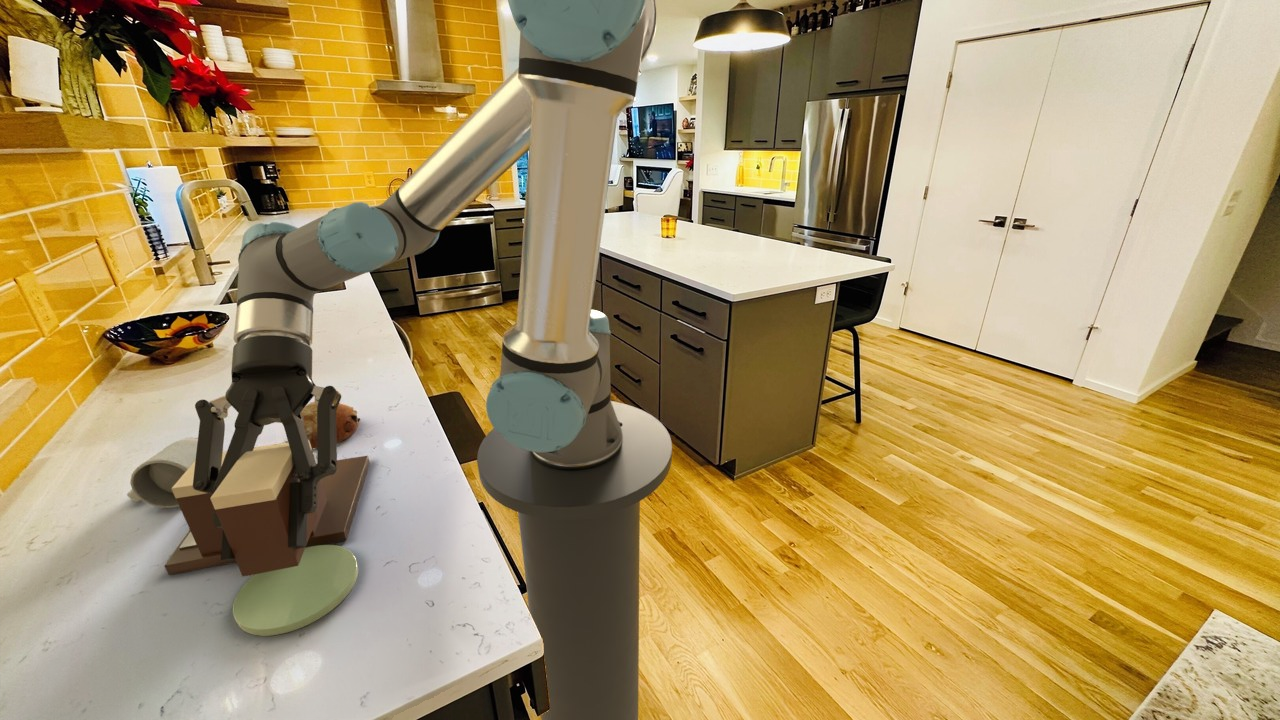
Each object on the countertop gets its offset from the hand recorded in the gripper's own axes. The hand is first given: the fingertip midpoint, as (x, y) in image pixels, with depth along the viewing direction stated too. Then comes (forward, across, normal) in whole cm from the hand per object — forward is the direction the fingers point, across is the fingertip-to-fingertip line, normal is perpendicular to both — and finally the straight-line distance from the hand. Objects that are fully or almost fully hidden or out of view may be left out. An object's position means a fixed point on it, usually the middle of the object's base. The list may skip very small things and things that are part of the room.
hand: (265, 552), depth 51 cm
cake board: (-7, +6, -20) cm, 22 cm away
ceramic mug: (-14, +22, -27) cm, 37 cm away
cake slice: (-1, 0, -4) cm, 4 cm away
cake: (-5, +6, -16) cm, 17 cm away
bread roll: (-22, +5, -35) cm, 42 cm away
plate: (+4, 0, -9) cm, 10 cm away
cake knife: (-8, +14, -19) cm, 25 cm away
